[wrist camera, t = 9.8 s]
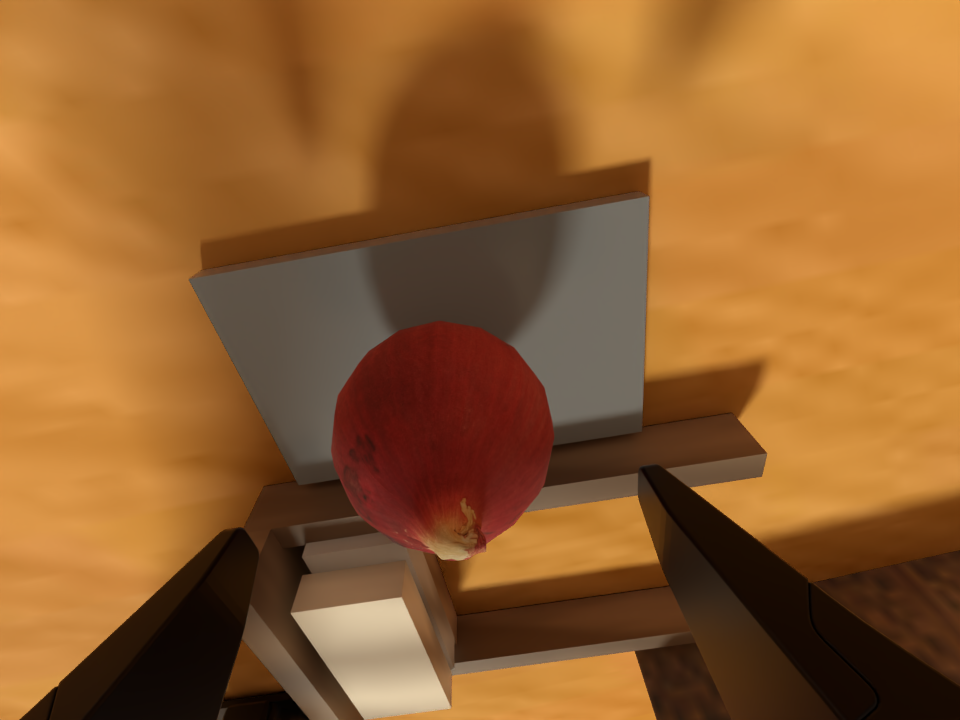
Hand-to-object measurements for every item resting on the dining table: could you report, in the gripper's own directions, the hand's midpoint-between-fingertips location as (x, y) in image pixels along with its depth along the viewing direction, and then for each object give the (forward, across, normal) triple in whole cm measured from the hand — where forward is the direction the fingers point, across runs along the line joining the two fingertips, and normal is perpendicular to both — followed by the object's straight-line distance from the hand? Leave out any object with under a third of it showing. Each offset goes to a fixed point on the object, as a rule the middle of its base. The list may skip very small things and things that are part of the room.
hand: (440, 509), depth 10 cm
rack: (+7, -1, +12) cm, 14 cm away
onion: (+6, 0, 0) cm, 7 cm away
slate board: (+7, 0, 0) cm, 7 cm away
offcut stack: (+7, +5, +12) cm, 15 cm away
